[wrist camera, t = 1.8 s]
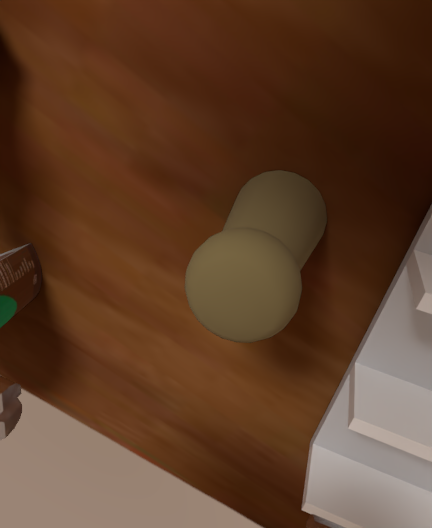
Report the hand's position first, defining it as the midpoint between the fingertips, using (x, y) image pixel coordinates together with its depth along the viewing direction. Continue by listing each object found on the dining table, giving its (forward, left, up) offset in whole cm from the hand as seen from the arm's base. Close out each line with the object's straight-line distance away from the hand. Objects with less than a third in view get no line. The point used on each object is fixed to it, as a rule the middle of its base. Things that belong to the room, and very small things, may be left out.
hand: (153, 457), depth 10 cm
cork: (0, 0, -19) cm, 19 cm away
